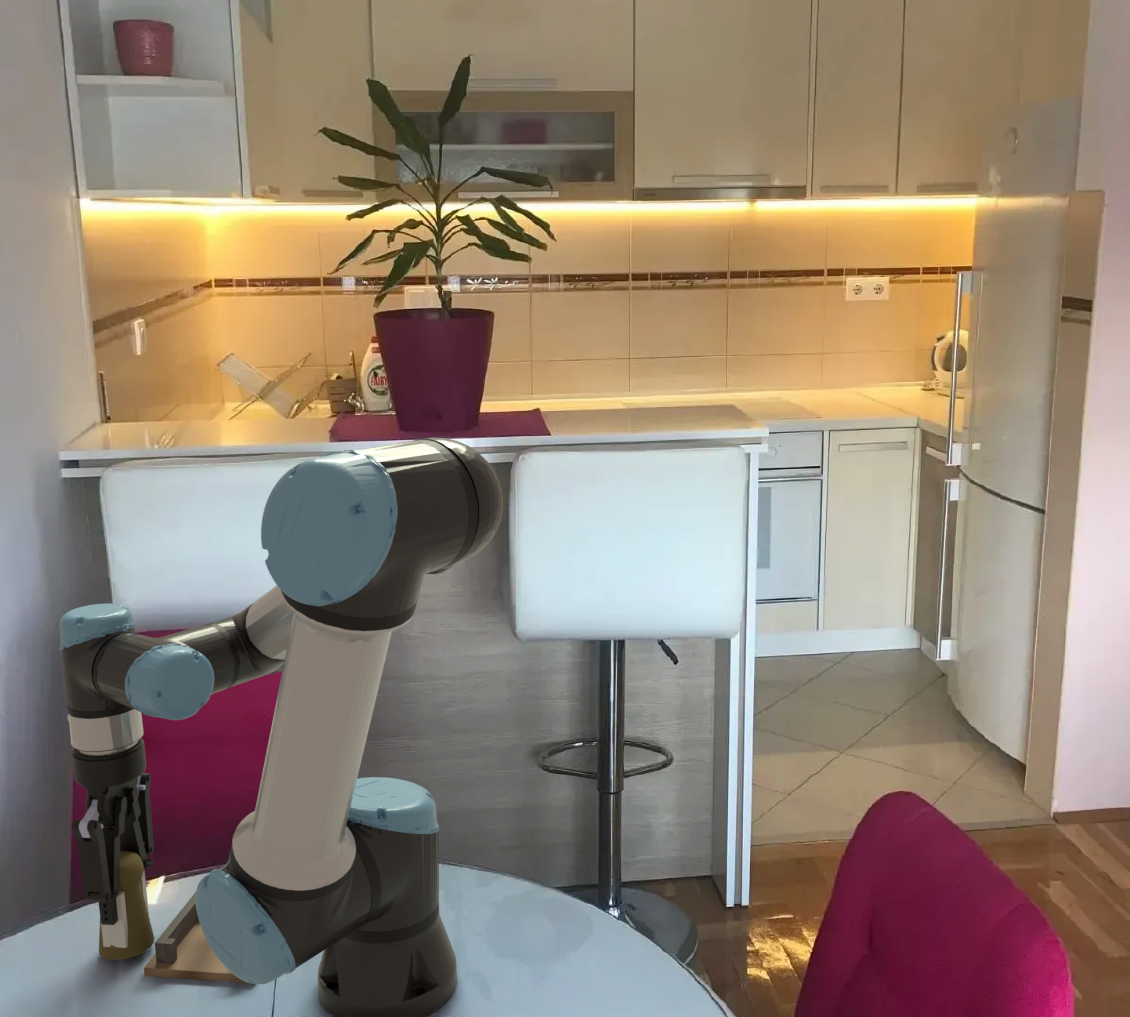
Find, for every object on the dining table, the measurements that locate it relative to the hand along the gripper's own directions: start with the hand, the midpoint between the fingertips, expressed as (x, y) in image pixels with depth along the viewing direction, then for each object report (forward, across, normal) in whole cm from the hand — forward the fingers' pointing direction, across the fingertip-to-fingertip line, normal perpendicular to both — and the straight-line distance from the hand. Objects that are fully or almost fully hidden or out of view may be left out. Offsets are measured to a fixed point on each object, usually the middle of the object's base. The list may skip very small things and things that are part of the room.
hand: (126, 933), depth 129 cm
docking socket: (+2, -2, +10) cm, 11 cm away
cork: (+2, 0, 0) cm, 2 cm away
